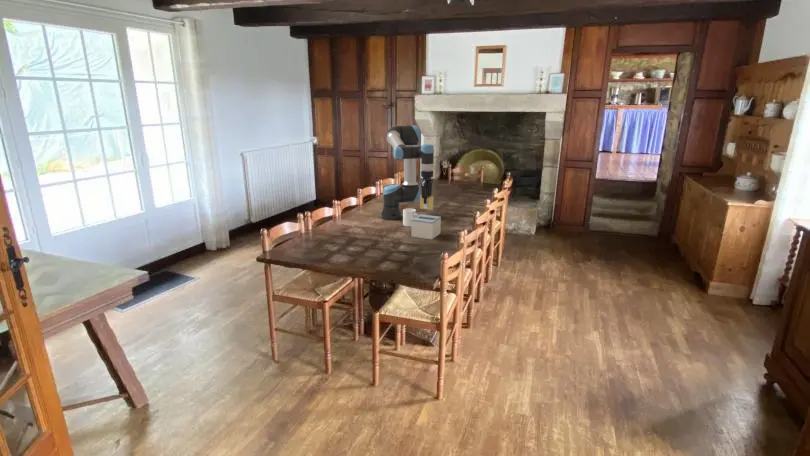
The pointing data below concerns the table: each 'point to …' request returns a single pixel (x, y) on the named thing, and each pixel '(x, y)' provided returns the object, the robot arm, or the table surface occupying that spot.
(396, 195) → the robot arm
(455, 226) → the table surface
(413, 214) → the mug
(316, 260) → the table surface
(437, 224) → the coin box
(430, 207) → the block
